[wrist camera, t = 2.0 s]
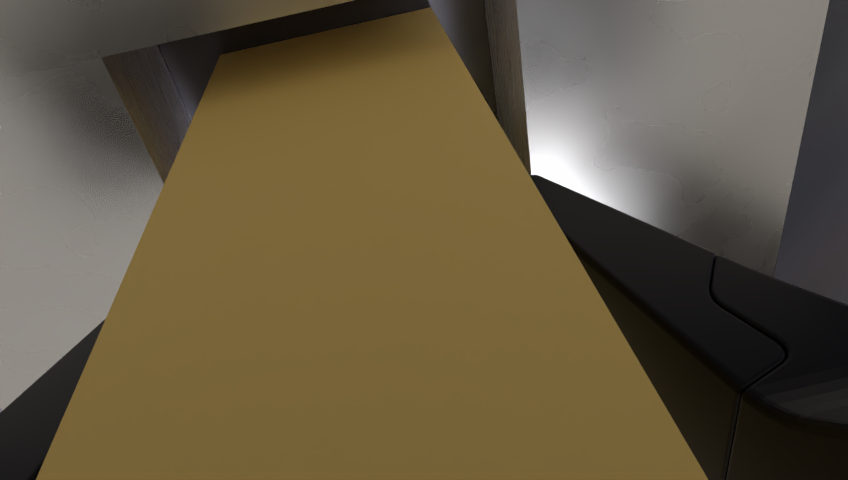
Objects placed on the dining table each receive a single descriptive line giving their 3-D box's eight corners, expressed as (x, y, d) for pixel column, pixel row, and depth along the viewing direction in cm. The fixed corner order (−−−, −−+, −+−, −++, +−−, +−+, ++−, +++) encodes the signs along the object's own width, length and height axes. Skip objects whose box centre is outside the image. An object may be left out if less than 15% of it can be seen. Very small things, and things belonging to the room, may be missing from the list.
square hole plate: (779, -356, 9) (912, -407, 7) (705, 267, 16) (762, 333, 14) (-284, -121, 9) (-465, -103, 7) (108, 405, 16) (77, 492, 14)
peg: (430, 7, 11) (711, 489, 3) (461, 189, 14) (669, 737, 5) (220, 54, 11) (-46, 666, 3) (286, 229, 14) (234, 842, 5)
